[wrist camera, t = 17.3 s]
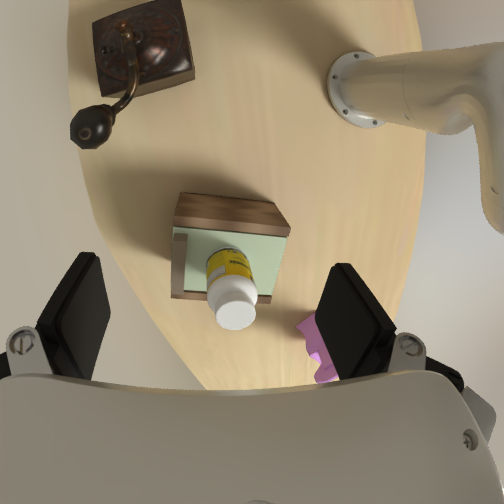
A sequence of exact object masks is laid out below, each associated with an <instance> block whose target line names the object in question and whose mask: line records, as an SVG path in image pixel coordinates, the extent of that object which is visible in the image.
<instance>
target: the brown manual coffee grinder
mask: <svg viewBox="0 0 504 504" xmlns="http://www.w3.org/2000/svg"><path fill="white" fill-rule="evenodd" d="M92 30H93V45H94V53H95V62H96V68H97V75H98V82H99V86H100V91H101V96H102V97H110V98H121V99H120V100H119V101H118V102H117V103H115V104H114V105H113V106H112V107H111V106H110V105H107V104H102V105H93V106H90V107H87V108H84V109H81V110H79V111H78V113H77V114H76V115H75V117H74V118H73V119H72V121H71V124H70V137H71V138H70V139H71V140H72V141H73V142H75V143H76V144H77V145H78V146H79V147H80V148H81V149H96V148H98V147H99V146H100V145H102V144H103V143H104V142H106V141H107V140H108V138H109V136H110V134H111V132H112V126H113V125H114V123H115V118H116V115H117V114H118V113H119V112H120V111H121V110H123V109H124V108H125V107H126V106H127V105H128V104H129V103H130V101H131V100H132V99H133V98H134V97H138V96H143V95H146V94H149V93H153V92H156V91H160V90H163V89H167V88H170V87H174V86H177V85H180V84H183V83H185V82H188V81H191V80H194V79H195V67H194V63H193V57H192V51H191V46H190V41H189V36H188V32H187V27H186V21H185V16H184V12H183V8H182V3H181V0H154V1H151V2H147V3H144V4H141V5H137V6H134V7H131V8H128V9H125V10H122V11H120V12H117V13H114V14H112V15H109V16H107V17H104V18H102V19H100V20H98V21H95V22H93V23H92Z"/></svg>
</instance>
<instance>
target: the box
mask: <svg viewBox="0 0 504 504" xmlns="http://www.w3.org/2000/svg"><path fill="white" fill-rule="evenodd" d="M173 225H175V226H186V227H198V228H209V229H220V230H230V231H240V232H250V233H260V234H270V235H280V236H289V233H290V229H291V227H290V226H289V224H288V223H287V221H286V220H285V218H284V217H283V215H282V214H281V212H280V211H279V209H278V208H277V206H276V205H275V203H272V202H264V201H256V200H248V199H240V198H232V197H223V196H213V195H204V194H193V193H182V192H181V193H180V197H179V200H178V203H177V207H176V211H175V214H174V224H173ZM257 295H258V296H257V302H256V303H263V304H270V302H271V299H272V296H271V295H261V294H257ZM171 298H175V299H188V300H203V301H208V300H207V291H193V290H184V295H176V294H171Z"/></svg>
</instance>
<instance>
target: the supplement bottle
mask: <svg viewBox="0 0 504 504" xmlns="http://www.w3.org/2000/svg"><path fill="white" fill-rule="evenodd" d="M206 281H207V300H208V304H209V306H210V308H211V309H212V311H213V312H215V318H216V321H217V323H218V324H219V325H220V326H221V327H223V328H225V329H229V330H239V329H243V328H245V327H247V326H249V325H250V324H251V323H252V322H253V321H254V319H255V316H256V312H255V307H254V306H255V304H256V302H257V296H258V295H257V289H256V285H255V282H254V279H253V275H252V271H251V268H250V264H249V261H248V258H247V256H246V255H245V254H244V252H242V251H241V250H240V249H238V248H235V247H222V248H219V249H217V250H215V251H214V252H213V253H212V254H211V255H210V256H209V257H208V260H207V263H206Z"/></svg>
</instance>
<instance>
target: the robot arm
mask: <svg viewBox="0 0 504 504" xmlns="http://www.w3.org/2000/svg"><path fill="white" fill-rule="evenodd" d="M354 56H355V57H354ZM332 76H333V77H334V79H333V77H332ZM327 89H328V95H329V98H330V101H331V103H332V105H333V107H334V108H335V110H336V111H337V113H338V114H339V115H340V116H341V117H342V118H343V119H344V120H346V121H347V122H349V123H351V124H353V125H355V126H358V127H362V128H375V127H378V126H381V125H383V124H384V123H386V122H389V123H394V124H399V125H403V126H408V127H412V128H417V129H421V130H425V131H428V132H432V133H437V134H441V135H454V134H458V133H461V132H462V131H464V130H466V129H467V128H469V127H470V126H471V125H472V124H473V125H474V128H475V134H476V139H477V144H478V152H479V164H480V183H481V201H482V207H483V212H484V214H485V217H486V219H487V220H488V222H489V223H490V225H491V226H492V227H493V228H494V229H495V230H496V231H498V232H499V233H500V234H502V235H504V42H493V43H486V44H480V45H474V46H469V47H462V48H455V49H443V50H432V51H420V52H410V53H401V54H394V55H387V56H381V57H375V56H374V55H372V54H369V53H366V52H360V51H359V52H350V53H347V54H344V55H342V56H341V57H339V58H338V59H336V61H335V62H334V63H333V64H332V66H331V68H330V70H329V73H328V77H327ZM343 110H344V113H343ZM110 313H111V312H110V306H109V301H108V297H107V293H106V288H105V284H104V279H103V274H102V269H101V263H100V258H99V257H98V256H96V255H95V253H93V252H81V253H79V255H78V256H77V258H76V259H75V261H74V262H73V263H72V265H71V267H70V268H69V270H68V271H67V272H66V274H65V276H64V277H63V279H62V280H61V282H60V284H59V285H58V287H57V288H56V290H55V291H54V293H53V295H52V296H51V298H50V300H49V301H48V303H47V305H46V306H45V308H44V310H43V312H42V314H41V316H40V317H39V319H38V321H37V325H36V327H35V328H32V327H29V326H23V327H20V328H18V329H16V330H14V331H13V332H12V333H11V334H10V335H9V337H8V339H7V342H6V352H4V353H2V354H0V504H504V489H503V486H502V483H501V480H500V477H499V474H498V471H497V468H496V465H495V462H494V459H493V457H492V454H491V452H490V450H489V447H488V442H489V439H490V437H491V434H492V431H493V428H494V425H495V422H496V412H495V411H494V408H493V407H492V406H491V405H490V404H489V403H487V402H486V401H485V400H484V399H483V398H481V397H480V396H479V395H478V394H476V393H475V392H474V391H473V390H472V389H470V388H469V387H468V386H466V387H465V388H464V381H463V378H462V377H461V375H460V374H459V372H457V371H456V370H454V369H452V368H450V367H448V366H446V365H444V364H442V363H440V362H438V361H436V360H434V359H432V358H429V357H427V356H426V347H425V345H424V343H423V342H422V341H421V340H420V339H419V338H418V337H417V336H415V335H413V334H410V333H405V332H403V333H399V334H398V335H397V336H396V334H395V333H394V332H395V331H396V329H397V328H396V326H395V325H394V323H393V322H392V320H391V319H390V318H389V316H388V315H387V313H386V312H385V310H384V309H383V307H382V306H381V305H380V303H379V302H378V300H377V299H376V298H375V296H374V295H373V293H372V292H371V291H370V289H369V288H368V287H367V285H366V284H365V282H364V281H363V280H362V278H361V277H360V276H359V274H358V273H357V272H356V270H355V269H354V268H353V267H352V265H351V264H350V263H336V264H335V266H332V267H331V269H330V272H329V275H328V278H327V281H326V284H325V287H324V290H323V293H322V296H321V299H320V302H319V304H318V307H317V310H316V313H315V323H316V325H317V327H318V330H319V332H320V334H321V337H322V339H323V341H324V344H325V346H326V348H327V351H328V353H329V355H330V358H331V360H332V362H333V365H334V367H335V369H336V372H337V374H338V377H339V379H340V380H339V381H333V382H326V383H319V384H311V385H303V386H293V387H282V388H270V389H253V390H205V391H204V390H176V389H159V388H147V387H136V386H128V385H119V384H112V383H104V382H97V381H91V378H92V374H93V370H94V366H95V363H96V360H97V356H98V353H99V349H100V346H101V343H102V340H103V337H104V334H105V330H106V327H107V324H108V322H109V319H110Z"/></svg>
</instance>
